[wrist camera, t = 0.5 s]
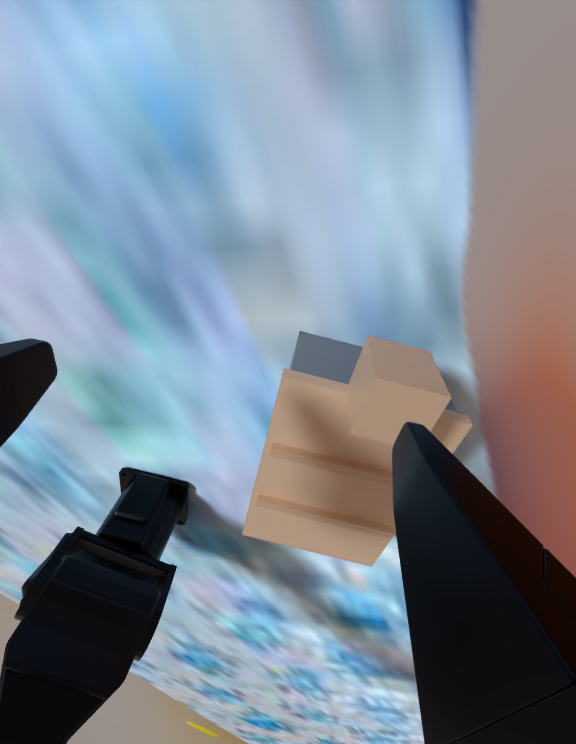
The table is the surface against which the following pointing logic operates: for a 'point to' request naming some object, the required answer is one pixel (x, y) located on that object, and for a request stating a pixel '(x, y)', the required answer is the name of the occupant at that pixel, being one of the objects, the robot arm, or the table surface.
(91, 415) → the table surface
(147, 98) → the table surface
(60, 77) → the table surface
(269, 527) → the lid
